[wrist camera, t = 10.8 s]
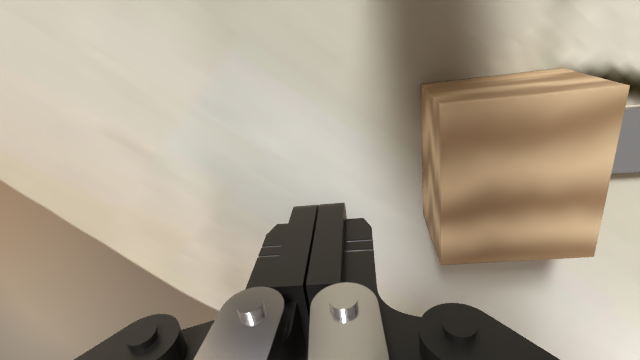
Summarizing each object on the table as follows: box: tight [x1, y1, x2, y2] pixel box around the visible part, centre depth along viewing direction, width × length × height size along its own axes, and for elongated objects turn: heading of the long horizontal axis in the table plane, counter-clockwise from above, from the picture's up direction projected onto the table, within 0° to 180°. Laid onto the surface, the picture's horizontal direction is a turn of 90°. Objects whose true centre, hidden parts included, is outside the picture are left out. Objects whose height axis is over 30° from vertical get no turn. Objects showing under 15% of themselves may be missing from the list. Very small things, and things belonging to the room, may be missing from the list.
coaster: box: [611, 105, 640, 174], centre depth 39 cm, size 7×7×2 cm
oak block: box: [421, 68, 630, 265], centre depth 37 cm, size 16×14×10 cm
